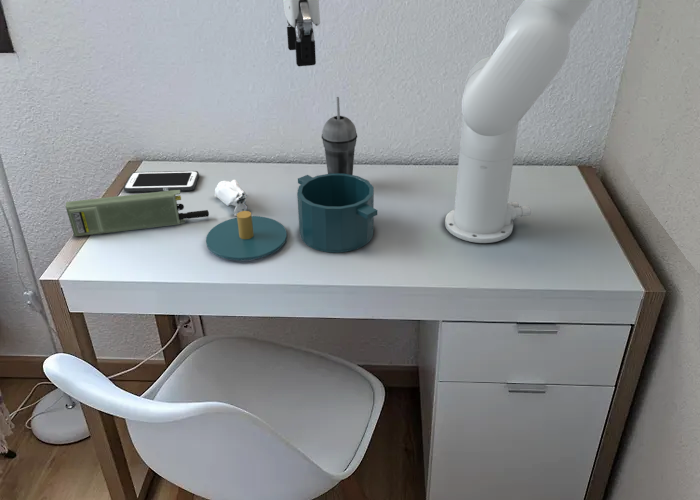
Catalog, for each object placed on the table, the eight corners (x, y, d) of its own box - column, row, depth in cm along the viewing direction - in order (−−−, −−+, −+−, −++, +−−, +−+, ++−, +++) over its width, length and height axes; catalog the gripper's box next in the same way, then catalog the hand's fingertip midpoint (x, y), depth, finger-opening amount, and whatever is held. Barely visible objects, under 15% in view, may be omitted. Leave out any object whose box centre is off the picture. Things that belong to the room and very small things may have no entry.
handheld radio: (75, 229, 125) (209, 214, 129) (73, 239, 122) (209, 223, 126) (66, 199, 121) (204, 184, 125) (64, 208, 118) (205, 192, 123)
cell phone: (132, 176, 143) (131, 172, 143) (199, 174, 144) (199, 170, 143) (123, 192, 137) (122, 188, 136) (193, 191, 137) (193, 186, 137)
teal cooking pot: (330, 203, 132) (329, 162, 127) (398, 239, 120) (400, 195, 116) (276, 227, 125) (273, 184, 120) (343, 267, 113) (343, 222, 108)
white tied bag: (257, 212, 132) (231, 185, 137) (253, 188, 127) (226, 161, 132) (236, 224, 130) (211, 195, 135) (231, 200, 125) (205, 171, 130)
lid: (256, 213, 129) (253, 187, 126) (303, 242, 120) (301, 214, 117) (191, 240, 121) (187, 213, 118) (236, 273, 112) (233, 245, 109)
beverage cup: (359, 180, 141) (358, 89, 130) (356, 196, 135) (355, 102, 124) (325, 178, 142) (322, 88, 131) (321, 194, 135) (317, 101, 125)
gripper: (329, -43, 98) (332, 70, 107) (310, -59, 112) (314, 42, 122) (279, -41, 97) (287, 74, 106) (266, -57, 111) (273, 45, 120)
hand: (301, 57), depth 114 cm, fingers open, 9 cm apart
